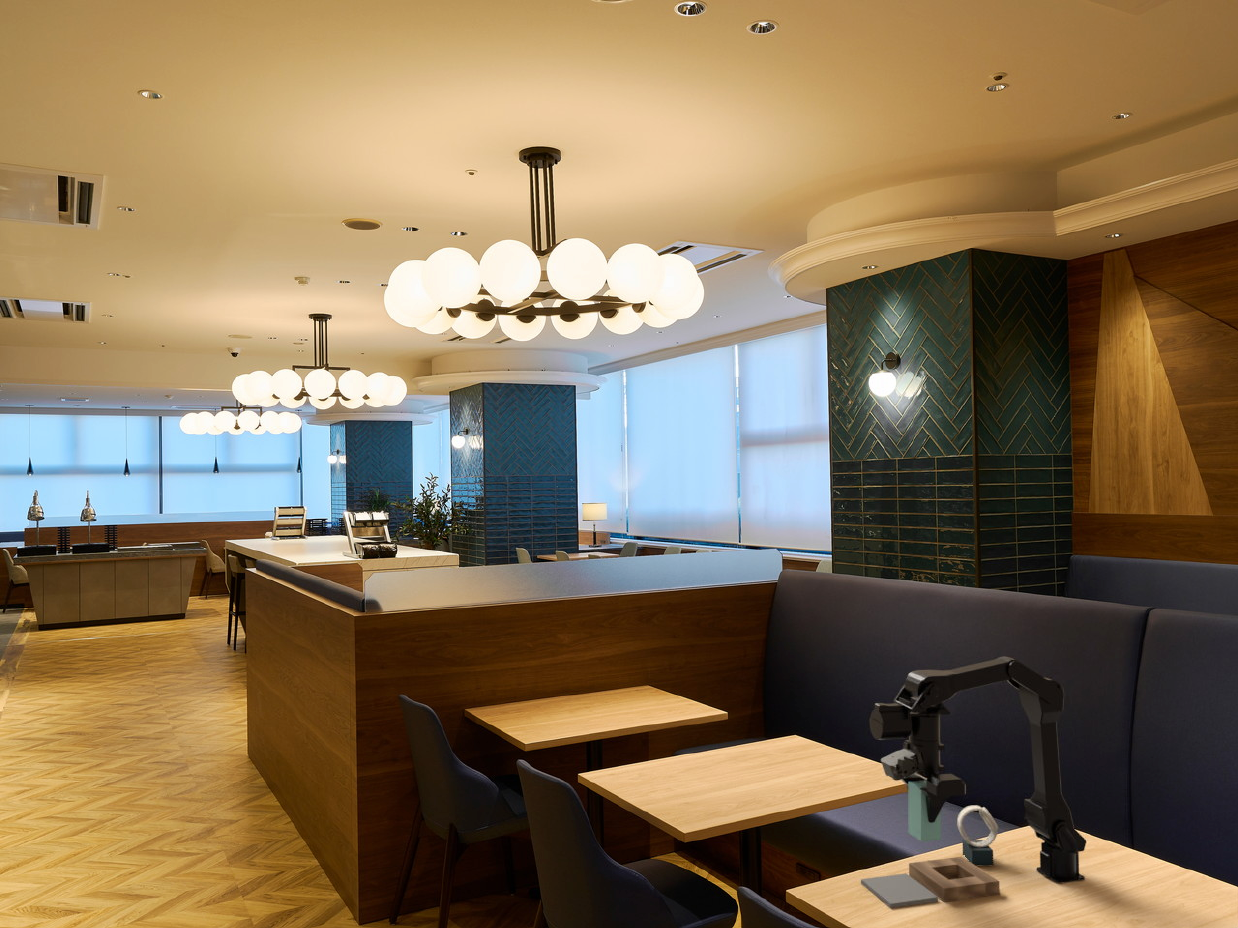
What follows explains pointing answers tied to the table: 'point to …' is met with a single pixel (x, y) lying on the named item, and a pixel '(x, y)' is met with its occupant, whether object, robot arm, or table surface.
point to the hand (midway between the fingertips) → (924, 817)
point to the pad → (899, 890)
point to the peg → (921, 815)
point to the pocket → (967, 886)
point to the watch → (978, 849)
